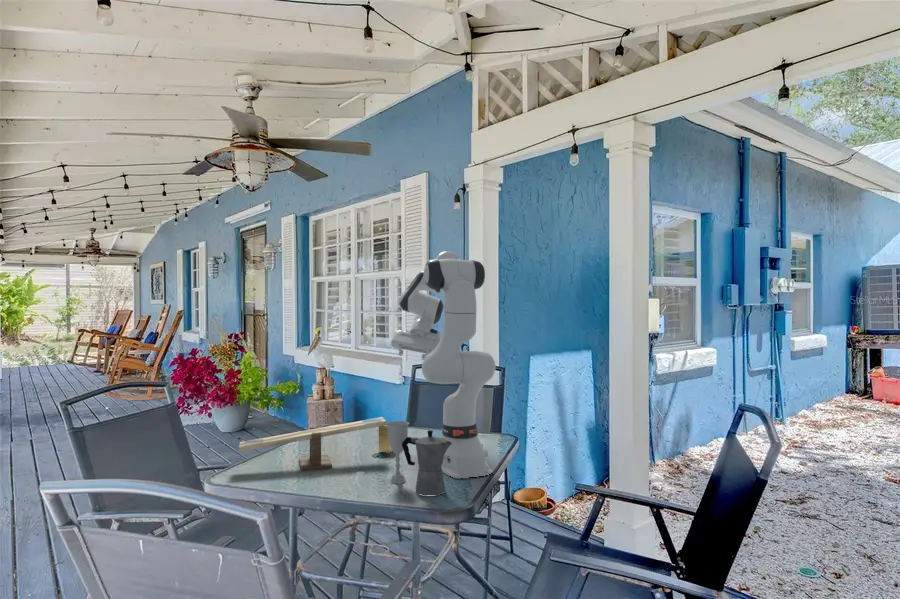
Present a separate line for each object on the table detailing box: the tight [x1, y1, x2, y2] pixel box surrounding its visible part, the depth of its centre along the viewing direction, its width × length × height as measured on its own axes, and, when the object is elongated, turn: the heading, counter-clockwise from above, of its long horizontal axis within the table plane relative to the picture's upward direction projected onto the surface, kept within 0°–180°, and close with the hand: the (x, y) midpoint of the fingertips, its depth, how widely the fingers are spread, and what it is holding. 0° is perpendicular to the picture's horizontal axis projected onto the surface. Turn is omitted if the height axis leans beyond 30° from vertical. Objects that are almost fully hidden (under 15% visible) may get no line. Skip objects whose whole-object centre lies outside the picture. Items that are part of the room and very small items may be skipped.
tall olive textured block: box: [378, 425, 393, 454], centre depth 204 cm, size 4×4×10 cm
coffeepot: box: [402, 429, 452, 495], centre depth 159 cm, size 15×9×18 cm, turn 75°
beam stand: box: [298, 426, 333, 473], centre depth 187 cm, size 14×10×12 cm
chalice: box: [386, 420, 410, 484], centre depth 168 cm, size 7×7×18 cm
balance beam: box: [238, 416, 387, 453], centre depth 187 cm, size 7×49×2 cm, turn 108°
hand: (411, 356), depth 216 cm, fingers open, 8 cm apart
